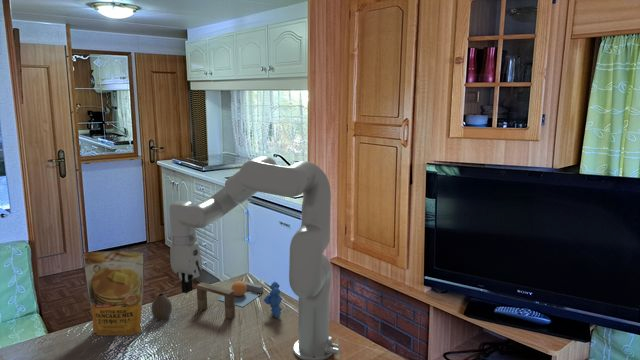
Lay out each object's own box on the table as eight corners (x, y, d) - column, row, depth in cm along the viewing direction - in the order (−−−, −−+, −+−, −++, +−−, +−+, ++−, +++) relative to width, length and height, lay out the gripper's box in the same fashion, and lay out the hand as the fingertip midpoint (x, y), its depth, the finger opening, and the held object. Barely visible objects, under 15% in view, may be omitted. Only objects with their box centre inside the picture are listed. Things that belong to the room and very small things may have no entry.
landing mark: (261, 294, 181) (261, 294, 181) (242, 307, 170) (242, 306, 170) (237, 288, 186) (237, 287, 186) (217, 300, 176) (217, 299, 176)
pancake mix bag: (94, 326, 156) (86, 249, 150) (150, 325, 156) (144, 248, 151) (85, 336, 149) (76, 256, 144) (143, 336, 150) (137, 256, 144)
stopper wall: (262, 291, 183) (262, 286, 183) (260, 293, 182) (259, 287, 181) (243, 286, 188) (242, 280, 187) (240, 288, 186) (239, 282, 186)
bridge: (203, 306, 171) (202, 282, 169) (234, 315, 164) (234, 290, 162) (197, 309, 168) (196, 285, 166) (229, 319, 161) (228, 294, 159)
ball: (246, 280, 177) (238, 294, 174) (251, 287, 182) (243, 301, 178) (234, 276, 180) (226, 289, 176) (239, 283, 184) (231, 296, 181)
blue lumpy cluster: (262, 307, 170) (262, 277, 168) (280, 306, 171) (280, 276, 169) (265, 323, 159) (264, 291, 157) (284, 321, 160) (284, 289, 158)
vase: (175, 313, 165) (174, 290, 164) (167, 322, 159) (166, 299, 157) (157, 312, 166) (155, 289, 164) (148, 321, 159) (146, 298, 158)
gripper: (209, 238, 147) (212, 291, 151) (175, 232, 154) (179, 282, 158) (192, 245, 141) (196, 300, 144) (158, 238, 148) (162, 291, 151)
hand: (187, 291), depth 151 cm, fingers closed
